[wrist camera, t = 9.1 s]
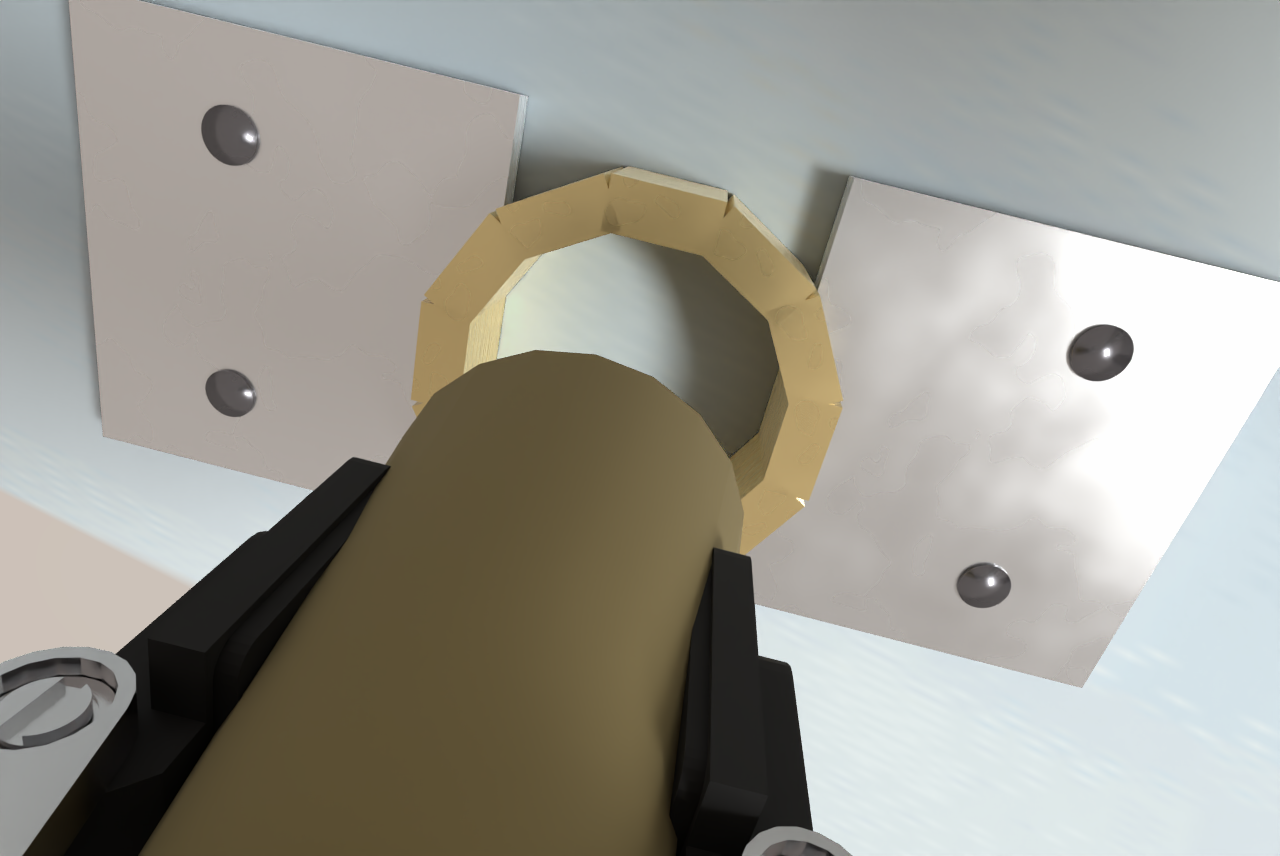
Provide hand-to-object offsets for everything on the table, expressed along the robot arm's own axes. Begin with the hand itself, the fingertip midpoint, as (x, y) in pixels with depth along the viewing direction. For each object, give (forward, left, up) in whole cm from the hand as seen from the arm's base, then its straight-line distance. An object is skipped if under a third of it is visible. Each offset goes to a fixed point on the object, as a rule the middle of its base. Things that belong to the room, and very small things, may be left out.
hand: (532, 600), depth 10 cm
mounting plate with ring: (0, 0, -11) cm, 11 cm away
